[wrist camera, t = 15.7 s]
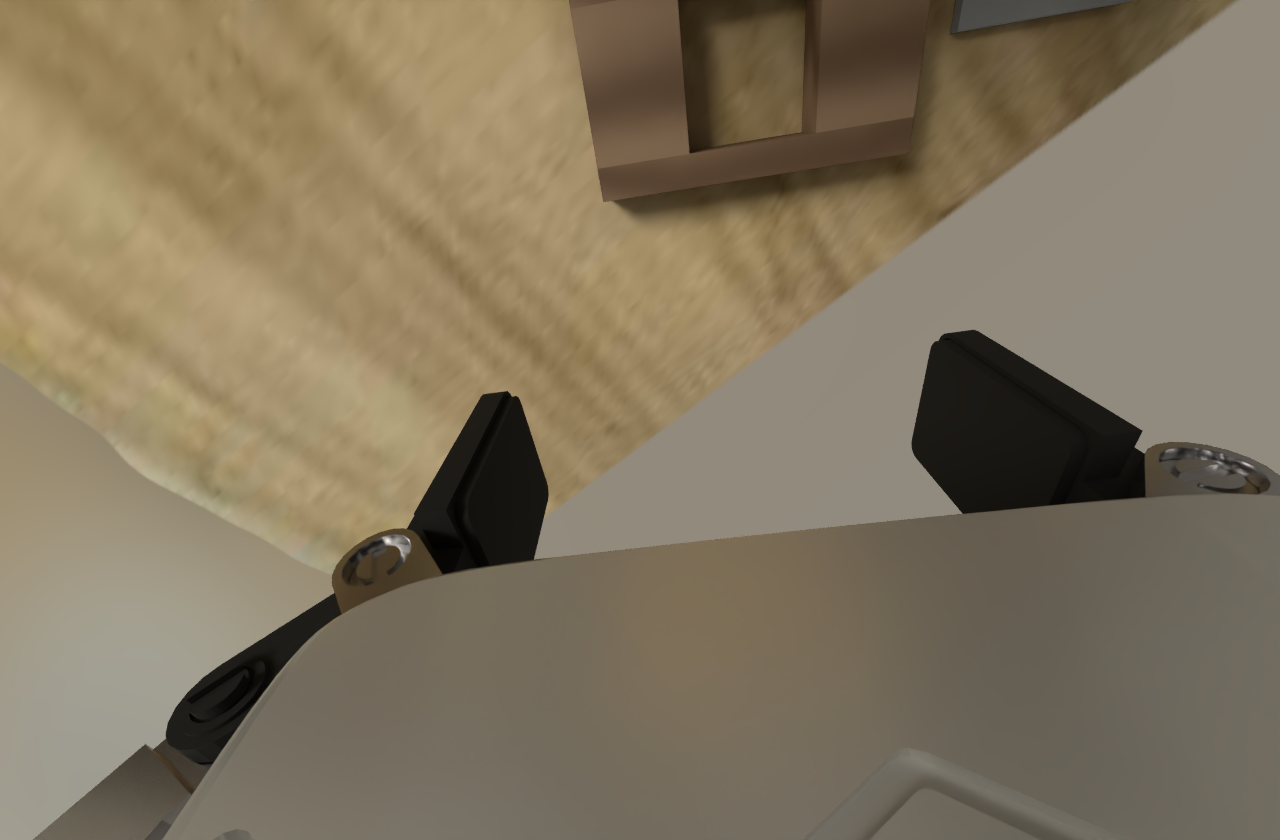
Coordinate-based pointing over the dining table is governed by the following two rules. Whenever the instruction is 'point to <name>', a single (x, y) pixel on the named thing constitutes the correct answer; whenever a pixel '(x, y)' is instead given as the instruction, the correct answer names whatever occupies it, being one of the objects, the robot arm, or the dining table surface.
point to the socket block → (831, 135)
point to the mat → (1015, 11)
